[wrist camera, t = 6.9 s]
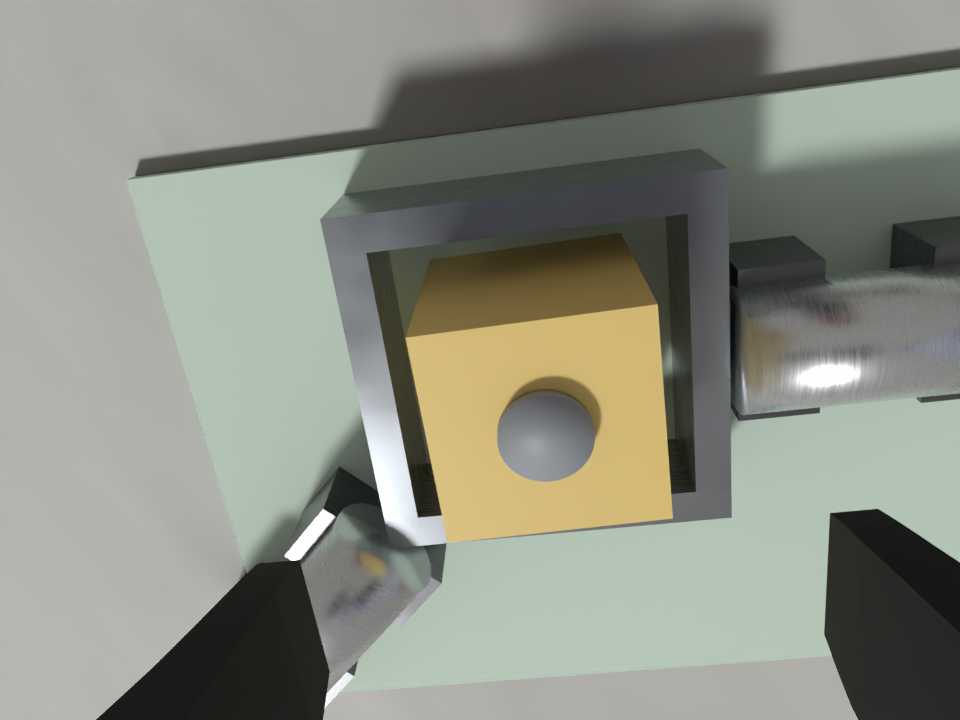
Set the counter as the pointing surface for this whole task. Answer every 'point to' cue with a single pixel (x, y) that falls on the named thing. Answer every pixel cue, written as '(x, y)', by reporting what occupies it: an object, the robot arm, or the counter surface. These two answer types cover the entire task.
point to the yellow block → (542, 389)
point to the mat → (754, 443)
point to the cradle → (528, 209)
